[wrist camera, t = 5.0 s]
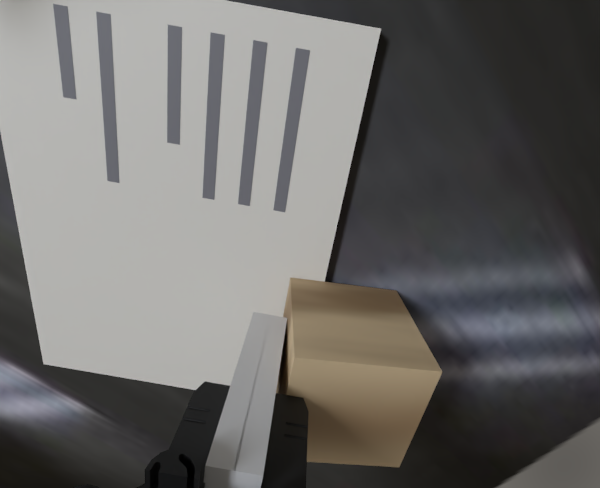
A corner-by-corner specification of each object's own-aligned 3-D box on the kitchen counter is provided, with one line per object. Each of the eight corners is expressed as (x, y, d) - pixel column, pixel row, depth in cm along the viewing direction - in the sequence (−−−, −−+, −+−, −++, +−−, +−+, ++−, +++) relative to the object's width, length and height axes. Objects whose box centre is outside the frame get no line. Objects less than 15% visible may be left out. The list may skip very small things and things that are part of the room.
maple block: (290, 277, 15) (294, 357, 11) (396, 290, 16) (442, 371, 11) (274, 362, 17) (272, 459, 13) (369, 371, 18) (399, 467, 13)
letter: (-22, -43, 12) (-33, -47, 11) (379, 30, 12) (381, 28, 12) (48, 359, 19) (43, 364, 19) (296, 401, 19) (296, 407, 19)
